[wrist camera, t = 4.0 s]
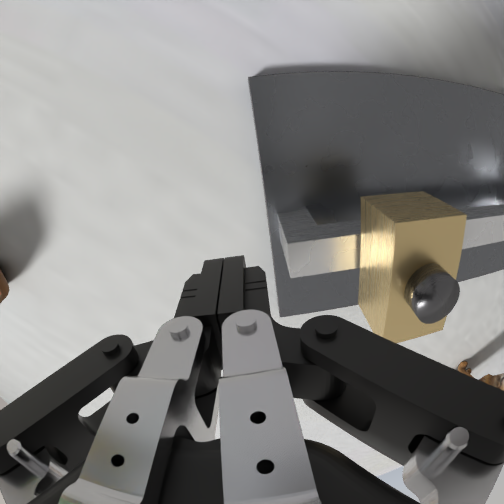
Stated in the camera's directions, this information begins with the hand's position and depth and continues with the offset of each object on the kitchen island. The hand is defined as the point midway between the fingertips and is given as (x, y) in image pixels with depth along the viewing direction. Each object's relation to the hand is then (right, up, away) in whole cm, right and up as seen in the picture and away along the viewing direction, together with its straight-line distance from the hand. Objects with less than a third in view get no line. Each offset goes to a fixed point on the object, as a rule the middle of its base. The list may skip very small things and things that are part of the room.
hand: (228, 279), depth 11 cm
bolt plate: (+15, +5, +4) cm, 16 cm away
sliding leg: (+7, +3, +4) cm, 8 cm away
